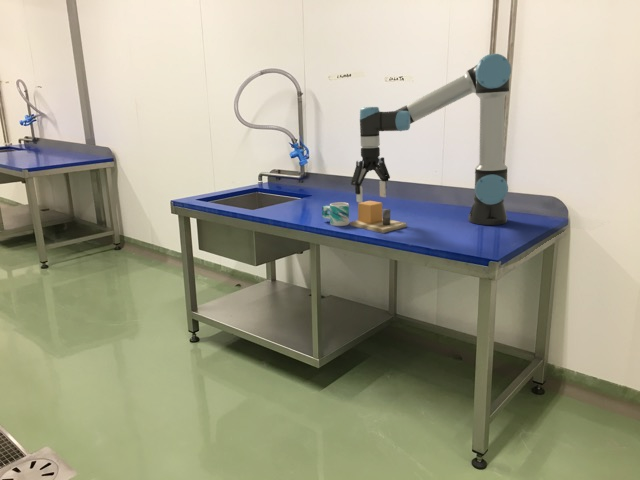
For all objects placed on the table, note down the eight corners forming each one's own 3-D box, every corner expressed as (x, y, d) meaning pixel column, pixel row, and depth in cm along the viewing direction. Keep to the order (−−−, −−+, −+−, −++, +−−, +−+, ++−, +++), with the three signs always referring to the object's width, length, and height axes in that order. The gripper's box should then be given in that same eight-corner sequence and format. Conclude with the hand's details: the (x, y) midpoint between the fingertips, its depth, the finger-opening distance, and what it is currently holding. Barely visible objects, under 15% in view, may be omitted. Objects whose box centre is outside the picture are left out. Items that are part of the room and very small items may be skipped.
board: (406, 226, 215) (406, 208, 213) (382, 233, 207) (383, 214, 205) (374, 219, 228) (374, 202, 226) (350, 225, 220) (350, 207, 218)
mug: (341, 226, 218) (341, 206, 216) (318, 223, 225) (317, 203, 223) (352, 222, 225) (352, 203, 222) (329, 219, 232) (329, 200, 229)
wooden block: (369, 218, 225) (369, 200, 223) (382, 220, 220) (382, 202, 218) (358, 220, 221) (358, 203, 219) (370, 223, 216) (370, 205, 214)
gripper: (384, 143, 223) (385, 193, 228) (340, 149, 207) (342, 203, 213) (398, 144, 217) (398, 195, 223) (354, 150, 202) (356, 205, 207)
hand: (371, 199), depth 218 cm, fingers open, 13 cm apart
